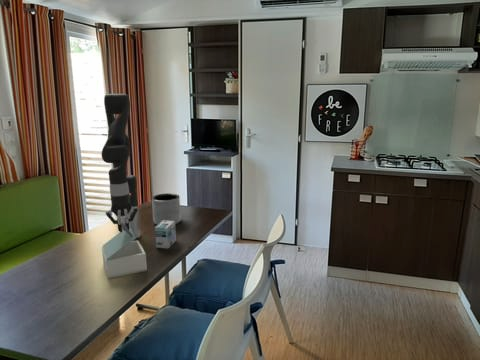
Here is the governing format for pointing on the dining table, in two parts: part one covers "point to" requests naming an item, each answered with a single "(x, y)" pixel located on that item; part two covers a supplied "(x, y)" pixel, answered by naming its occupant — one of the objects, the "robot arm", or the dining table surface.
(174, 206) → the planter
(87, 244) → the dining table surface
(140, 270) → the cabinet
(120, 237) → the door
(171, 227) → the light bulb box
